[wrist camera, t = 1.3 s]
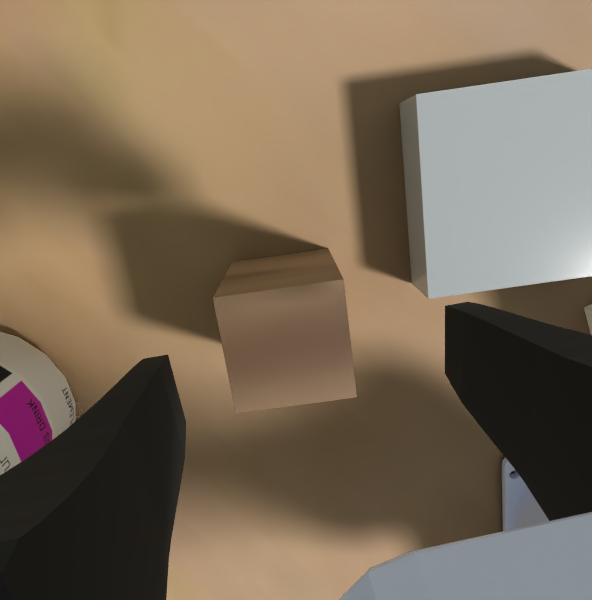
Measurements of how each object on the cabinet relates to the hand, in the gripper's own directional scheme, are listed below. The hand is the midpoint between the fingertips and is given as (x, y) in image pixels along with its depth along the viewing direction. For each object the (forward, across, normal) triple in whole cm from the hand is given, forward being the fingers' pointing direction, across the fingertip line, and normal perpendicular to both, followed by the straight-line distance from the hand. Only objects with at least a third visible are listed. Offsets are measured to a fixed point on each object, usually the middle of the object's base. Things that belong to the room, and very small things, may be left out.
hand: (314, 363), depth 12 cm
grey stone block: (+10, -10, -2) cm, 14 cm away
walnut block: (+10, 0, +2) cm, 11 cm away
